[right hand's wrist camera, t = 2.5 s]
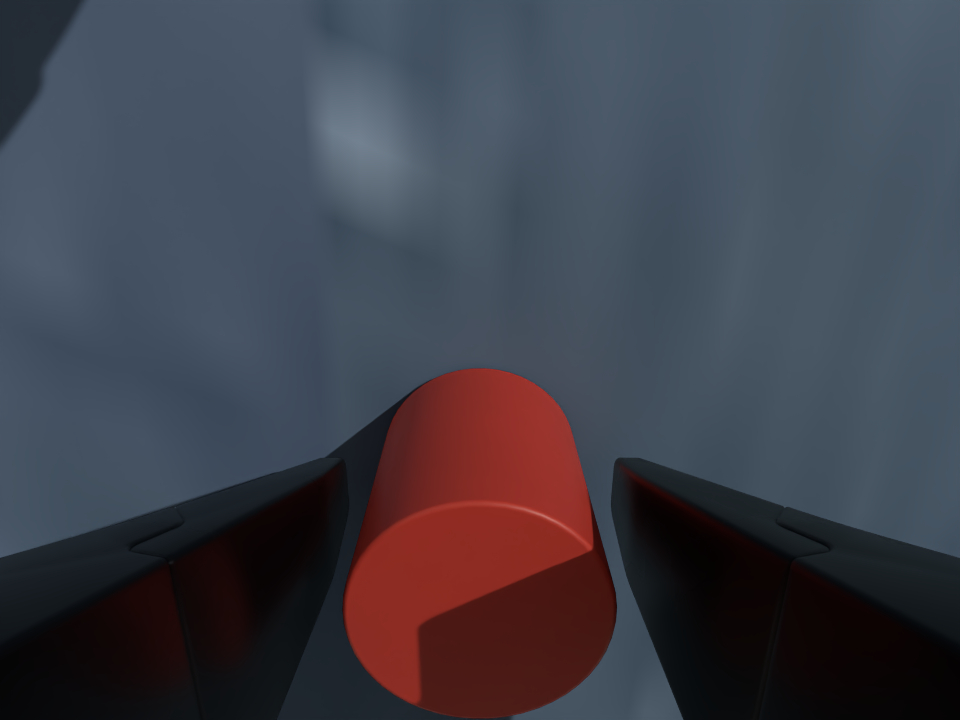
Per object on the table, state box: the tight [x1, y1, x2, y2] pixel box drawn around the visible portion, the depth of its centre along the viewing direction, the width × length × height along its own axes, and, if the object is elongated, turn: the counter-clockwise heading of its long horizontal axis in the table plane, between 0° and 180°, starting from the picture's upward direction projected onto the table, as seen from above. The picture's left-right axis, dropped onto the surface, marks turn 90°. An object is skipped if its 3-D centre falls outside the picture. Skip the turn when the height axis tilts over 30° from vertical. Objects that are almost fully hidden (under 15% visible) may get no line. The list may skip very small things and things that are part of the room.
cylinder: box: [342, 368, 617, 719], centre depth 10 cm, size 4×4×4 cm
